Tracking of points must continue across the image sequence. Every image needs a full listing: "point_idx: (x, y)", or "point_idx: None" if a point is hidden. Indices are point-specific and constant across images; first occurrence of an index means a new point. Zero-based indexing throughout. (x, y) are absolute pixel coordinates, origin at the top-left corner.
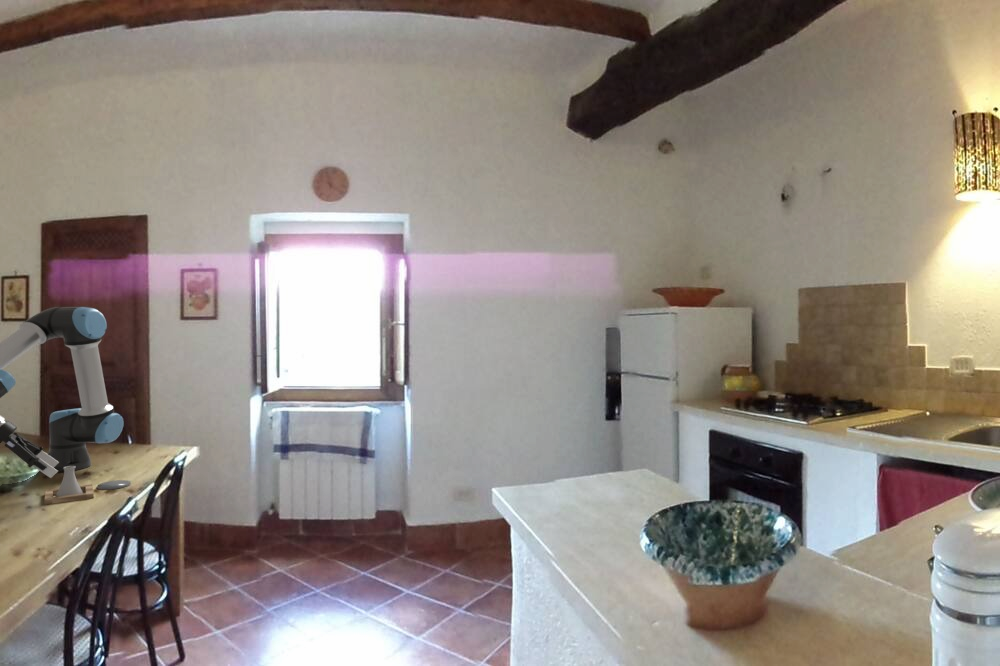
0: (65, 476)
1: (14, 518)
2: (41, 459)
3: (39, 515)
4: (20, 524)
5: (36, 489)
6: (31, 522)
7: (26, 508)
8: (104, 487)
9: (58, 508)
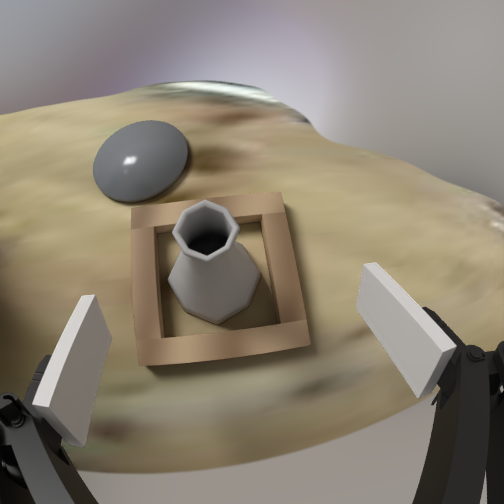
0: (227, 264)
1: None
2: (438, 342)
3: None
4: None
5: None
6: (462, 327)
7: (328, 393)
8: (168, 175)
9: None
